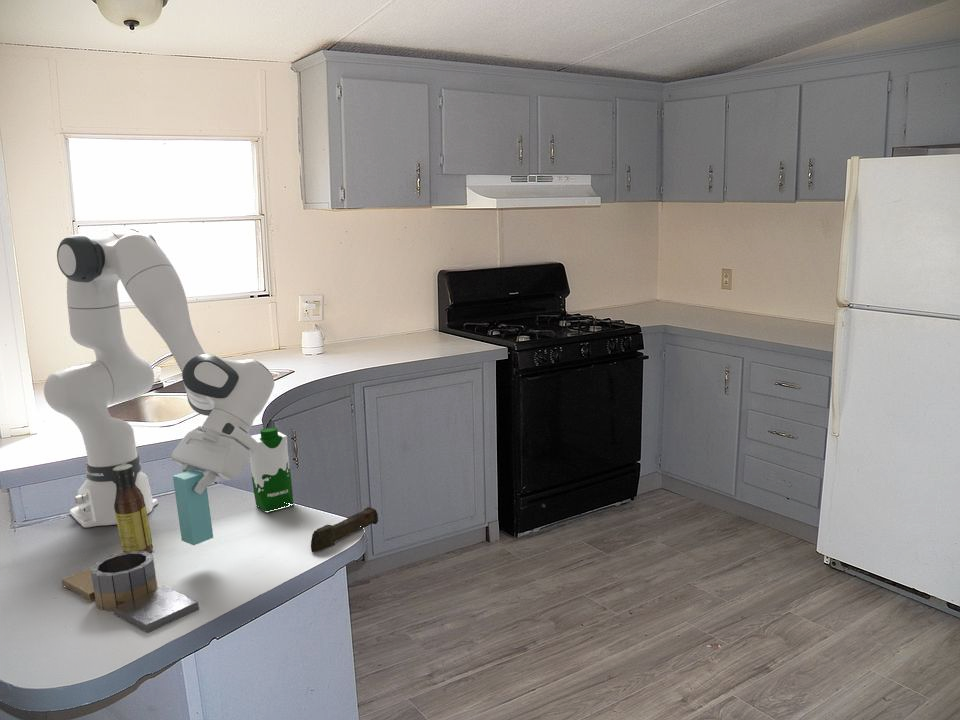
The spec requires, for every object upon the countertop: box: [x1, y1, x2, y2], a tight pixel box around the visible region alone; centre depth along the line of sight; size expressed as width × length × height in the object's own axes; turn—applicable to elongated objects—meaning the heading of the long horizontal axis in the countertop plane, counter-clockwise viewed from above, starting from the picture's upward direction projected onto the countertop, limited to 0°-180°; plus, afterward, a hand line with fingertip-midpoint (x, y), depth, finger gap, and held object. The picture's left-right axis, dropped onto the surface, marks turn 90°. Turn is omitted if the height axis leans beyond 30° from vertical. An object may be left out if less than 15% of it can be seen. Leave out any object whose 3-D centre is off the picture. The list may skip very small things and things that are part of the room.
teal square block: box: [172, 470, 214, 546], centre depth 166 cm, size 4×4×14 cm
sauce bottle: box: [113, 464, 154, 553], centre depth 175 cm, size 6×6×20 cm
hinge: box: [61, 551, 200, 634], centre depth 155 cm, size 34×11×7 cm, turn 50°
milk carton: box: [249, 427, 294, 512], centre depth 199 cm, size 9×9×20 cm
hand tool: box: [310, 506, 379, 553], centre depth 178 cm, size 19×4×5 cm, turn 143°
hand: (187, 489), depth 165 cm, fingers closed on teal square block, 4 cm apart
